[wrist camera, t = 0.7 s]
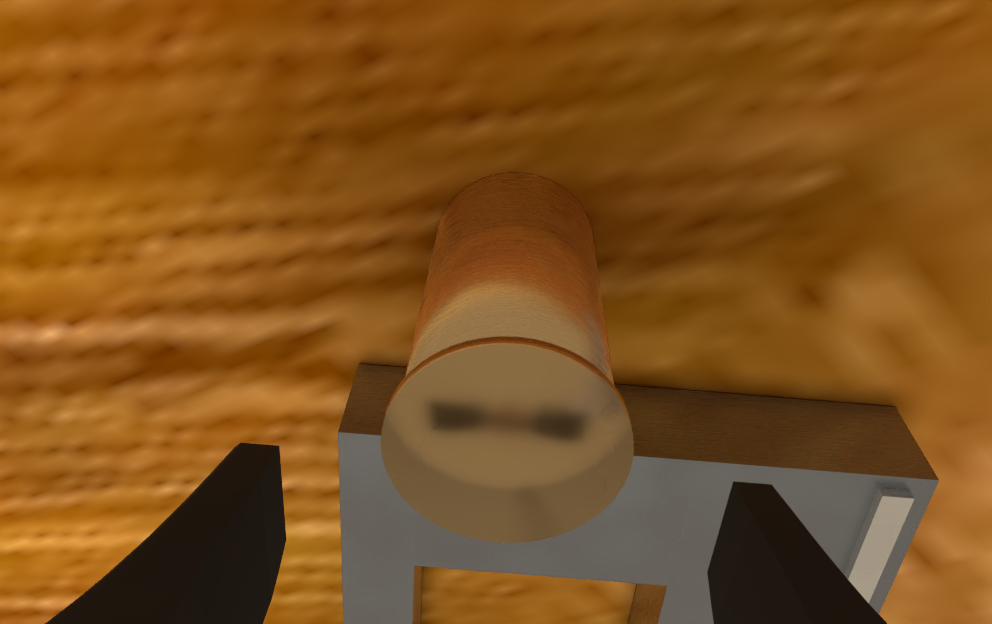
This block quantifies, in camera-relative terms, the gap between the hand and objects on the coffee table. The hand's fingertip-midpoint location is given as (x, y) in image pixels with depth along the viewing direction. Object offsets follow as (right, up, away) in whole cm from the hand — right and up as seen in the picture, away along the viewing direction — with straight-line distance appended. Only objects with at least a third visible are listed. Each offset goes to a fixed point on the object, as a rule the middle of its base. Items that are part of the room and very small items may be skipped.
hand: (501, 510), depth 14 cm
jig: (+3, -5, +14) cm, 15 cm away
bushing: (0, +5, +8) cm, 9 cm away
